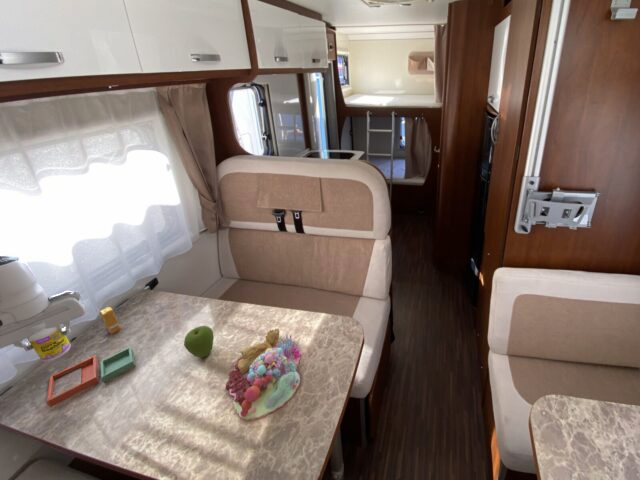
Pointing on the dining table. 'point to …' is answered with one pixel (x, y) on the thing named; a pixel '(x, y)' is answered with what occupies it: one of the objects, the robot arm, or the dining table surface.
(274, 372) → the candy landscape model
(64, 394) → the terracotta tray
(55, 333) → the supplement bottle
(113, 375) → the sage tray
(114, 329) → the supplement box
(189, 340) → the apple
